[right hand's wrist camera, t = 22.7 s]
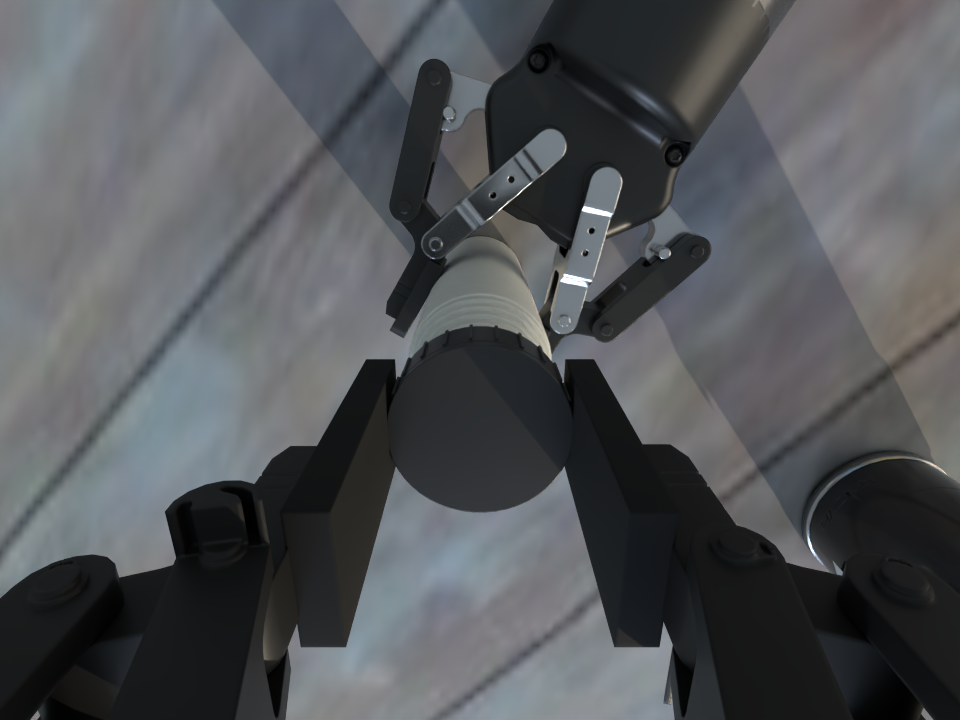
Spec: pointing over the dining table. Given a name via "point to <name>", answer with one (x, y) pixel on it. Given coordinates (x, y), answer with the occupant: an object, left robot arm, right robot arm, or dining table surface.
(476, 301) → the bottle
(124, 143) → the dining table surface
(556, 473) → the cap
